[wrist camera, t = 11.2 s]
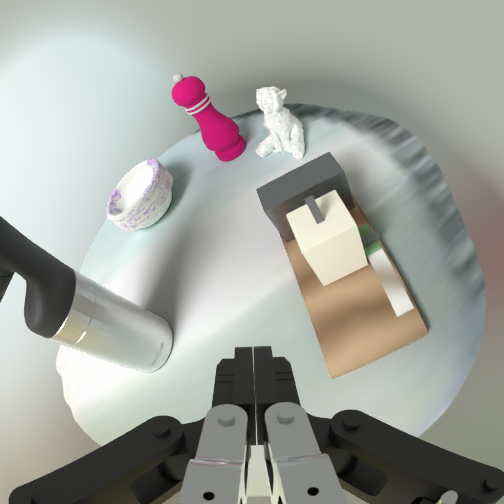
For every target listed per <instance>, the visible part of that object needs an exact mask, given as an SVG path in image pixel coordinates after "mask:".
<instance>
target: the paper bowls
mask: <svg viewBox="0 0 504 504" xmlns="http://www.w3.org/2000/svg"><path fill="white" fill-rule="evenodd" d="M172 185H173V177H172V175H171V174H170V173H169V172H168V171H167V169H166V168H165V167H163V165H162V164H161V163H160V162H159V161H157V160H156V159H148V160H145V161H142V162H141V163H139V164H137V165H136V166H135V167H133V168H132V169H131V170H130V171H129V172H128V173H127V174H126V175H125V176H124V177H123V178H122V179H121V181H120V182H119V183H118V185H117V186H116V187H115V189H114V191H113V192H112V194H111V197H110V198H109V201H108V205H107V208H106V214H107V217H108V219H109V220H111V221H112V222H113V223H114V224H116V225H117V226H118V227H120V228H121V229H123V230H124V231H126V232H132V231H135V230H138V229H140V228H147V227H149V226H151V225H153V224H154V223H156V222H157V221H158V220H159V219H160V218H161V217H162V216H163V215H164V214H165V212H166V211H167V209H168V207H169V205H170V203H171V199H172V191H171V189H172Z"/></svg>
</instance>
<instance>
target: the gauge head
mask: <svg viewBox="0 0 504 504" xmlns="http://www.w3.org/2000/svg"><path fill="white" fill-rule="evenodd" d="M304 200H305V202H306V205H304V206H302V207H300V208H298V209H296V210H294V211H292V212H290V213H288V214H286V216H287V219H288V221H289V223H290V226H291V228H292V231H293V233H294V235H295V238H296V240H297V243H298V245H299V247H300V250H301V252H302V254H303V255H304V257H305V258H306V260H307V261H308V263H309V265H310V266H311V268H312V269H313V271H314V272H315V274H316V275H317V277H318V278H319V280H320V281H321V283H322V284H323V286H326V285H328V284H330V283H332V282H334V281H336V280H338V279H340V278H342V277H344V276H347V275H349V274H351V273H353V272H355V271H357V270H359V269H361V268H363V267H365V266H367V265H368V263H367V259H366V255H365V252H364V248H363V247H364V246H366V245H368V244H370V243H372V242H373V241H375V240H377V239H379V238H381V237H380V233H379V232H378V230H377V231H375V232H373V233H371V234H369V235H367V236H365V237H364V238H362V239H361V238H360V234H359V231H358V228H357V225H356V223H355V221H354V220H353V218H352V216H351V215H350V213H349V211H348V210H347V208H346V207H345V205H344V203H343V202H342V200H341V198H340V197H339V195H338V194H337V192H336V190H333V191H331V192H329V193H327V194H325V195H323V196H321V197H319V198H317V199H314V197H313V195H311V196H310V197H308V198H306V199H304Z"/></svg>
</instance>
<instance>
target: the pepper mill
mask: <svg viewBox="0 0 504 504" xmlns="http://www.w3.org/2000/svg"><path fill="white" fill-rule="evenodd" d="M173 81H174V82H176V84H175V86H174V87H173V89H172V98H173V100H174V102H175V103H176V104H177V105H179V106H184V107H185V108H184V109H185V110H186V111H187V113H188V114H189V115H193V117H195V119H196V120H197V122H198V123H199V125H200V129H201V134H202V139H203V141H204V143H205V145H206V147H207V148H208V149H210V150H212V151H215V154H216V155H217V157H218V158H219V159H220V160H221V161H230V160H233V159H235V158H236V157H238V156H239V155H240V154H241V153H242V152H243V151H244V149H245V147H246V142H245V141H244V139H243V138H242V136H241V135H239V128H238V126H237V125H236V123H235V122H234V121H233V120H231V119H230V118H228V117H226V116H225V115H223V114H221V113H220V112H218V111H217V110H216V109H215V108H214V107H213V105H212V103H211V102H210V101H211V97H209V96H208V93H205V85H204V83H203V82H202V81H201V80H200V79H199V78H197V77H194V76H190V77H186V78H183V75H181V74H179V73H178V74H175V75H174V77H173Z"/></svg>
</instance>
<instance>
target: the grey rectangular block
mask: <svg viewBox="0 0 504 504" xmlns="http://www.w3.org/2000/svg"><path fill="white" fill-rule="evenodd" d="M256 190H257V193H258V196H259V198H260V201H261V204H262V206H263V209H264V212H265V213H266V215H267V216H268V217H269V219H270V220H271V221H272V223H273V224H274V226H275V227H276V228H277V230H278V231H279V232H280V234H281V235H282V237H283V238H284V239H285V241H286V242H287V243H288V242H290V241H292V240H294V239H296V238H295V235H294V233H293V231H292V228H291V226H290V223H289V221H288V219H287V216H286V214H288V213H290V212H292V211H294V210H296V209H298V208H300V207H302V206H304V205H306V202H305V200H304V199H306V198H308V197H310V196H311V195H313V197H314V199H317V198H319V197H321V196H323V195H325V194H327V193H329V192H331V191H333V190H336V192H337V194H338V195H339V197H340V198H341V200H342V202H343V203H344V205H345V207H346V208H347V210H348V211H350V210H352V209H353V208H355V204H354V201H353V198H352V195H351V192H350V189H349V186H348V183H347V180H346V177H345V174H344V171H343V170H342V168H341V167H340V165H339V164H338V163H337V161H336V160H335V159H334V157H333V156H332V155H331V153H330V152H328V153H326V154H324V155H322V156H320V157H318V158H316V159H314V160H312V161H310V162H308V163H306V164H304V165H302V166H300V167H298V168H296V169H294V170H292V171H290V172H288V173H286V174H285V175H283V176H281V177H279V178H277V179H275V180H273V181H271V182H269V183H268V184H266V185H264V186H262V187H260V188H258V189H256Z"/></svg>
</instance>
